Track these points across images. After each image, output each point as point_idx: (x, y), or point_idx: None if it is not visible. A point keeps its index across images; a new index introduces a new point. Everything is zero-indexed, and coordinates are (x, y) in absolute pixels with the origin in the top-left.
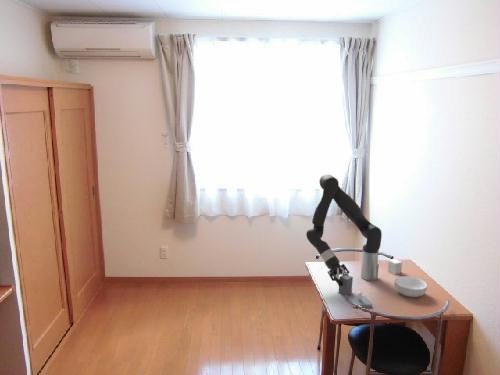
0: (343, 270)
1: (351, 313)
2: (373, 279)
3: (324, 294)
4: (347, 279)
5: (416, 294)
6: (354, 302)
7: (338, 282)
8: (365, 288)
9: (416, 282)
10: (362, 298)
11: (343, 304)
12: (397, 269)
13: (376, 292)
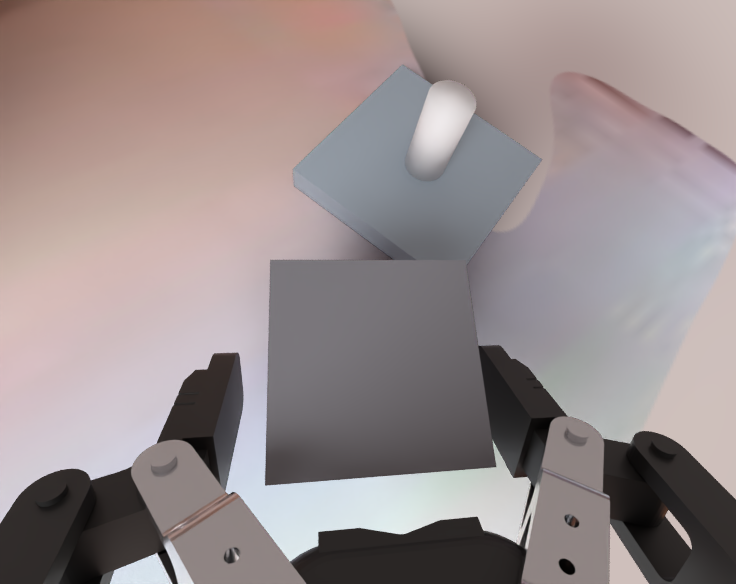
0: (255, 561)
1: (606, 144)
2: None
3: None
4: (457, 268)
5: None
6: (499, 175)
7: (547, 405)
8: (38, 299)
9: None
10: (370, 162)
11: (557, 258)
12: None
13: (68, 170)
